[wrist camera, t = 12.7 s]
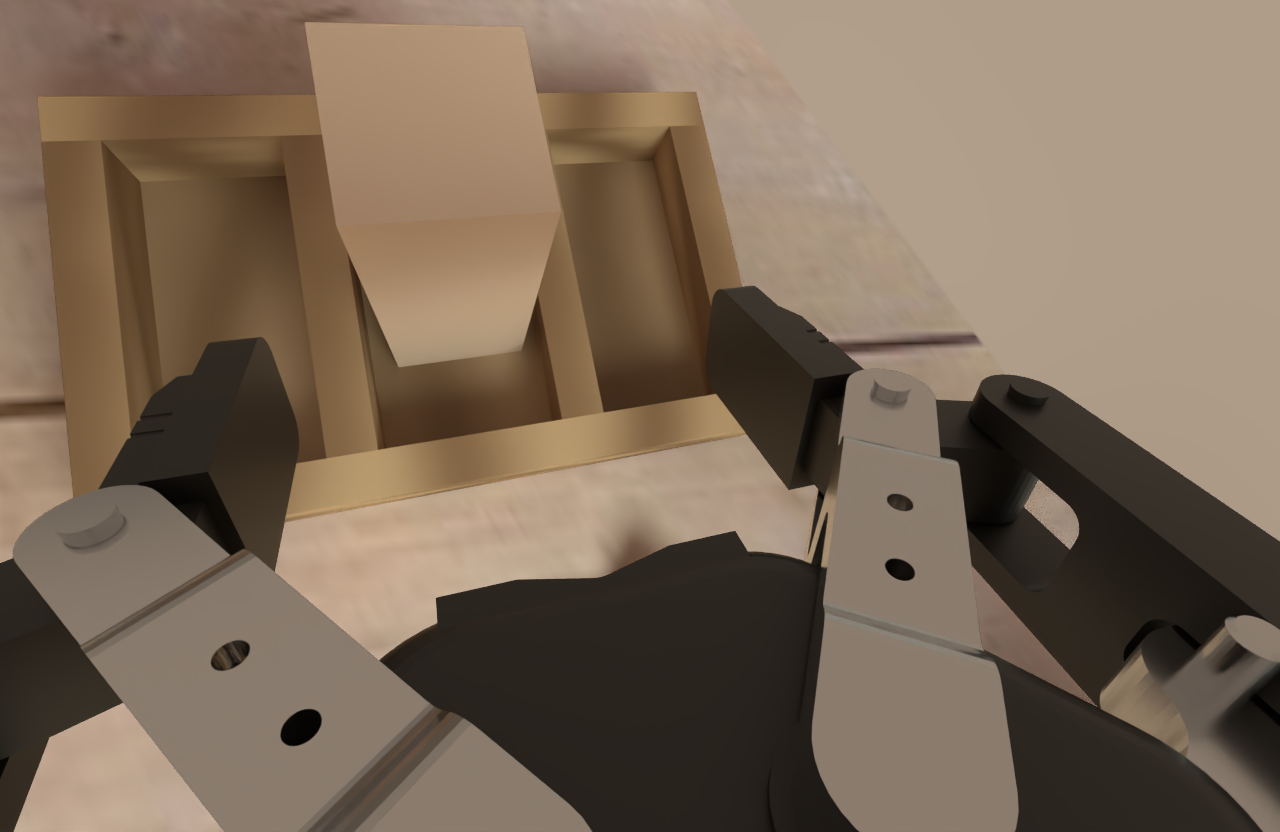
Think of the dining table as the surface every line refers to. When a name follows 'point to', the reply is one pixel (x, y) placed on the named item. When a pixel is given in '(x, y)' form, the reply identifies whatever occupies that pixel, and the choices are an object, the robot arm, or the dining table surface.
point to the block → (437, 180)
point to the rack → (341, 312)
